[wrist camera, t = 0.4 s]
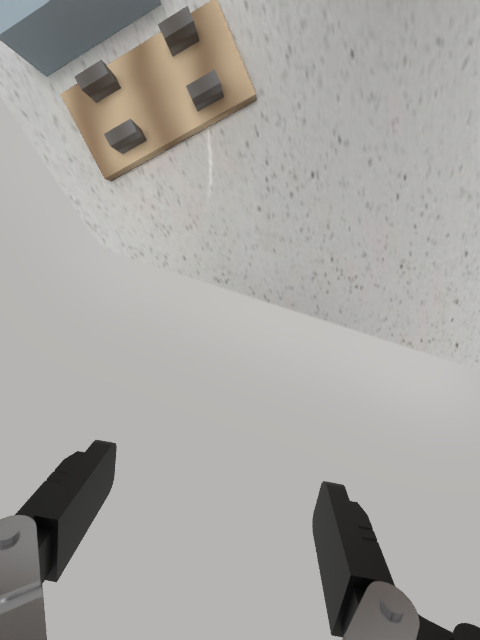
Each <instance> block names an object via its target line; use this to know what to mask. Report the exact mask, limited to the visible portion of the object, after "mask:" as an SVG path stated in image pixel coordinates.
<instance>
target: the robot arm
mask: <svg viewBox="0 0 480 640" xmlns="http://www.w3.org/2000/svg"><path fill="white" fill-rule="evenodd" d="M115 460H116V444H115V443H112V442H106V441H100V440H95V441H94V442H93V443H92V444H91V446H90V447H89V448H88V449H87V450H86V452H79V451H77V452H75V453H74V454H72V455H70V456H69V457H68V458H66V459H64V460H63V461H62V462H61V464H60V465H59V466H58V467H57V468H56V469H55V471H54V472H53V473H52V474H51V475H50V476H49V477H48V478H47V481H45V482H44V483H43V484H42V485H41V486H40V487H39V488H38V489H37V491H36V492H35V493H34V494H33V495H32V496H31V497H30V499H29V500H28V501H27V502H26V503H25V504H24V505H23V506H22V508H21V509H20V510H19V511H18V512H17V513H16V514H15V515H14V516H9V517H6V518H3V519H1V520H0V640H47V635H46V623H45V611H44V598H43V588H42V583H43V582H44V580H48V581H54V582H57V581H58V579H59V577H60V576H61V574H62V572H63V571H64V569H65V567H66V566H67V564H68V562H69V561H70V559H71V557H72V555H73V554H74V552H75V550H76V549H77V547H78V545H79V544H80V542H81V540H82V539H83V537H84V535H85V534H86V532H87V530H88V528H89V527H90V525H91V523H92V521H93V520H94V518H95V517H96V515H97V513H98V511H99V510H100V508H101V506H102V505H103V503H104V501H105V500H106V498H107V496H108V494H109V492H110V490H111V488H112V485H113V481H114V473H115ZM313 536H314V541H315V546H316V552H317V558H318V563H319V569H320V575H321V580H322V585H323V591H324V597H325V602H326V608H327V613H328V619H329V624H330V629H331V635H333V636H339V637H343V639H342V640H480V628H479V627H476V626H475V625H471V624H467V623H461V624H458V625H457V626H456V627H455V629H454V631H453V633H452V632H450V631H448V630H446V629H444V628H442V627H440V626H438V625H436V624H434V623H432V622H430V621H428V620H427V619H425V618H423V617H421V616H420V615H419V614H418V613H417V611H416V609H415V607H414V605H413V604H412V602H411V601H410V600H409V598H408V597H407V596H406V595H405V594H404V593H403V592H402V591H401V590H399V589H398V588H396V587H395V585H394V582H393V580H392V577H391V574H390V572H389V569H388V567H387V564H386V562H385V559H384V556H383V554H382V551H381V549H380V546H379V544H378V542H377V538H376V536H375V533H374V531H373V529H372V525H371V523H370V521H369V518H368V515H367V514H366V513H365V511H364V510H363V509H362V508H361V507H360V505H359V504H358V503H357V502H352V501H350V500H349V498H348V495H347V492H346V489H345V486H344V485H341V484H336V483H331V482H325V481H324V482H323V483H322V484H321V488H320V491H319V496H318V499H317V503H316V507H315V510H314V514H313Z"/></svg>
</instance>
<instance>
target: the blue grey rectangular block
mask: <svg viewBox="0 0 480 640" xmlns="http://www.w3.org/2000/svg"><path fill="white" fill-rule="evenodd" d="M159 5H161V3H160V0H0V40H1V41H2V42H3V43H5V44H6V45H7V46H9V47H10V48H11V49H12V50H14V51H15V52H16V53H17V54H19V55H20V56H21V57H23V58H24V59H25V60H26V61H28V62H29V63H30V64H31V65H33V66H34V67H35V68H37V69H38V70H39V71H40V72H42V73H43V74H44V75H45V76H49V75H50V74H52V73H53V72H55V71H56V70H58V69H60V68H61V67H63V66H64V65H66V64H68V63H69V62H71V61H72V60H74V59H75V58H77V57H79V56H80V55H82V54H83V53H85V52H87V51H88V50H90V49H91V48H93V47H94V46H96V45H98V44H99V43H101V42H102V41H104V40H106V39H107V38H109V37H110V36H112V35H113V34H115V33H117V32H118V31H120V30H121V29H123V28H124V27H126V26H128V25H129V24H131V23H132V22H134V21H136V20H137V19H139V18H140V17H142V16H143V15H145V14H147V13H148V12H150V11H151V10H153V9H155V8H156V7H158V6H159Z"/></svg>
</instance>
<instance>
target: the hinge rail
mask: <svg viewBox="0 0 480 640" xmlns="http://www.w3.org/2000/svg"><path fill="white" fill-rule="evenodd" d="M158 26H159V28H160V30H161V32H160V33H158V34H156V35H155V36H153V37H152V38H150V39H148V40H147V41H145V42H144V43H142V44H140V45H139V46H137V47H136V48H134V49H132V50H131V51H129V52H127V53H126V54H124V55H123V56H121V57H119V58H118V59H116V60H115V61H113V62H111V63H110V64H108V65H107V66H106V64H105V63H104V62H103V61H102V60H100V61H99V62H97V63H96V64H94V65H92V66H91V67H89V68H88V69H86V70H84V71H83V72H81V73H80V74H78V75H76V76H75V79H76V81H77V82H78V84H76V85H74V86H73V87H71V88H70V89H68V90H66V91H65V92H63V93H61V94H60V95H61V96H62V98H63V100H64V102H65V104H66V106H67V108H68V110H69V112H70V114H71V116H72V117H73V119H74V121H75V123H76V125H77V127H78V129H79V131H80V133H81V135H82V136H83V138H84V140H85V142H86V144H87V146H88V148H89V150H90V152H91V154H92V156H93V157H94V159H95V161H96V163H97V165H98V167H99V169H100V171H101V173H102V175H103V176H104V178H105V179H107V180H109V181H112V180H114V179H115V178H117V177H119V176H121V175H123V174H124V173H126V172H128V171H130V170H132V169H133V168H135V167H137V166H139V165H141V164H142V163H144V162H146V161H148V160H150V159H151V158H153V157H155V156H157V155H159V154H160V153H162V152H164V151H166V150H167V149H169V148H171V147H173V146H175V145H176V144H178V143H180V142H182V141H184V140H185V139H187V138H189V137H191V136H193V135H194V134H196V133H198V132H200V131H202V130H203V129H205V128H207V127H209V126H211V125H212V124H214V123H216V122H218V121H220V120H221V119H223V118H225V117H227V116H228V115H230V114H232V113H234V112H236V111H237V110H239V109H241V108H243V107H245V106H246V105H248V104H250V103H252V102H254V101H255V100H256V92H255V90H254V88H253V85H252V83H251V80H250V78H249V76H248V73H247V71H246V68H245V66H244V63H243V61H242V59H241V56H240V54H239V51H238V49H237V47H236V44H235V42H234V39H233V37H232V35H231V32H230V30H229V27H228V25H227V22H226V20H225V18H224V15H223V13H222V10H221V8H220V6H219V3H218V1H217V0H211V1H210V2H208V3H206V4H205V5H203V6H202V7H200V8H198V9H197V10H195V11H193V12H192V13H190V11H189V8H188V6H187V7H185V8H183V9H182V10H180V11H179V12H177V13H175V14H174V15H172V16H171V17H169V18H167V19H166V20H164V21H163V22H161V23H160V24H158Z"/></svg>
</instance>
